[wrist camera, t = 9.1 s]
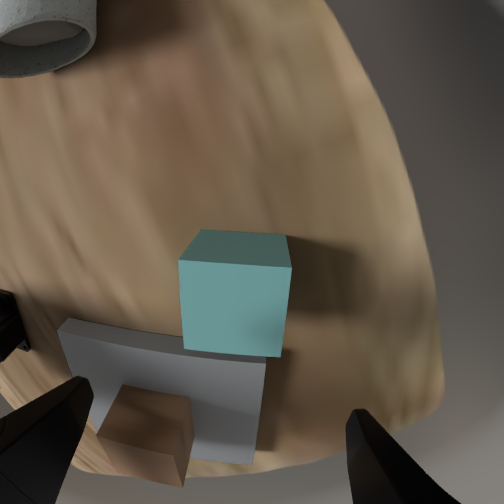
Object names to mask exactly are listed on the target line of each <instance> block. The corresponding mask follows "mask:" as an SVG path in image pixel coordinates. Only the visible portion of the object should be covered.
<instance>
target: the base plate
mask: <svg viewBox="0 0 504 504" xmlns="http://www.w3.org/2000/svg"><path fill="white" fill-rule="evenodd" d="M57 333H58V337H59V340H60V343H61V346H62V349H63V352H64V355H65V357H66V360H67V363H68V366H69V368H70V371H71V374H72V376H73V377H75V376H82V377H86V378H87V379H88V380H89V382H90V385H91V387H92V390H93V393H94V400H93V403H92V406H91V409H90V412H89V415H90V417H91V420H92V422H93V424H94V426H95V428H96V430H97V432H98V430H99V428H100V426H101V425H102V423H103V421H104V419H105V417H106V415H107V413H108V411H109V409H110V407H111V405H112V403H113V401H114V399H115V397H116V396H117V394H118V392H119V390H120V388H121V386H122V384H124V385H129V386H133V387H138V388H142V389H147V390H152V391H157V392H163V393H168V394H174V395H180V396H187V397H190V404H191V412H192V420H193V428H194V435H195V437H194V441H193V445H192V450H191V454H190V458H195V459H202V460H209V461H217V462H226V463H236V464H249V465H253V461H254V454H255V446H256V439H257V432H258V424H259V417H260V409H261V401H262V393H263V385H264V377H265V369H266V356H252V355H238V354H227V353H216V352H207V351H198V350H189V349H184V341H183V337H177V336H169V335H162V334H155V333H149V332H142V331H136V330H130V329H124V328H119V327H113V326H108V325H103V324H98V323H93V322H88V321H83V320H78V319H74V318H68V319H67V320H66V321H65V322H64V323H63V324H62V325H61V326H60V327H59V328H58V329H57Z"/></svg>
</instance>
